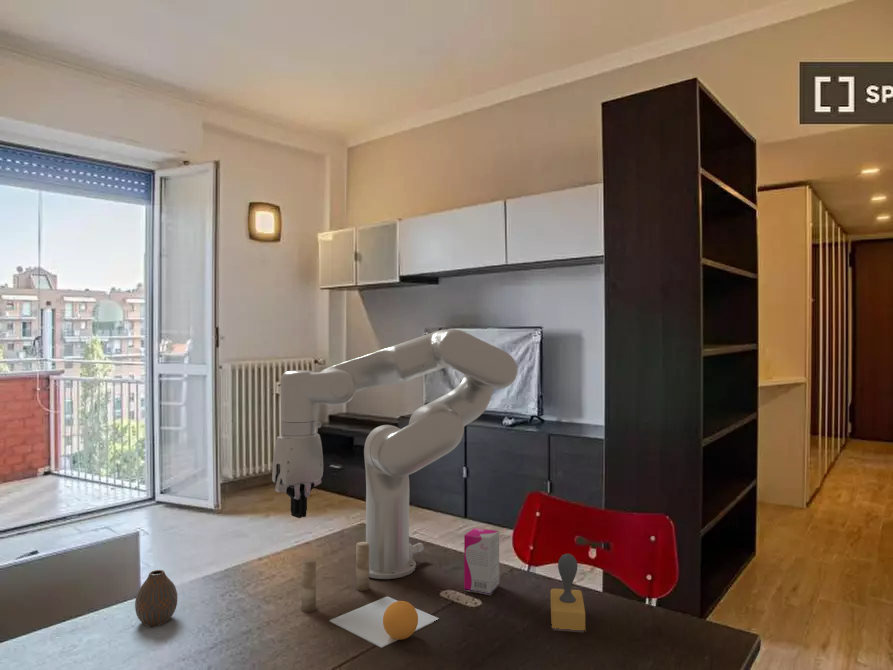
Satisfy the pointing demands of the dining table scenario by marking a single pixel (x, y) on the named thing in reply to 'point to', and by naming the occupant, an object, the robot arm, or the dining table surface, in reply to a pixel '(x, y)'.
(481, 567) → the supplement box
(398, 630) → the ball
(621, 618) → the dining table surface
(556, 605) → the rubber stamp
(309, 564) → the post
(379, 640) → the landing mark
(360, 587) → the post
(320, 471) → the robot arm
